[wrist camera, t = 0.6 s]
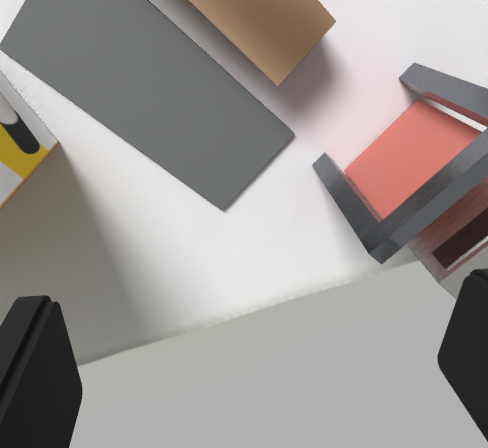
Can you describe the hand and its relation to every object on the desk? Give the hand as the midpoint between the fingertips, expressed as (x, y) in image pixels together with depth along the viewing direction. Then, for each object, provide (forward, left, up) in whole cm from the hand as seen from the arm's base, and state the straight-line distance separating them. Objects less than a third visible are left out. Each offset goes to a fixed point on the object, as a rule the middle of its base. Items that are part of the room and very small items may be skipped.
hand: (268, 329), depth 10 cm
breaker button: (-6, +14, -25) cm, 29 cm away
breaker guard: (-6, +16, -25) cm, 30 cm away
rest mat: (+3, -3, -25) cm, 26 cm away
